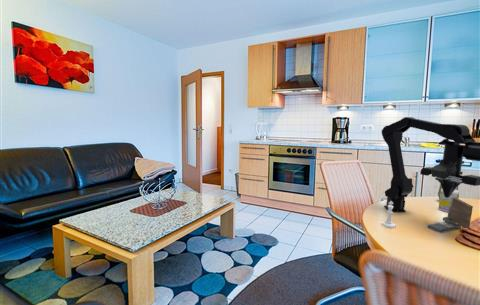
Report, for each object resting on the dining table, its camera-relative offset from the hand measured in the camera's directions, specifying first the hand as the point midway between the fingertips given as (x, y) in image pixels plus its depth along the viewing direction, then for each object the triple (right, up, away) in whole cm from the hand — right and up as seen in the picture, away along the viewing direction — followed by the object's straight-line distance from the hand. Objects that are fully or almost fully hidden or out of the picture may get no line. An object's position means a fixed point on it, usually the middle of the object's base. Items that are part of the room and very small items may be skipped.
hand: (446, 197), depth 97 cm
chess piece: (-22, -12, +1) cm, 25 cm away
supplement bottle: (+17, -10, +20) cm, 28 cm away
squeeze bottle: (+26, -9, +32) cm, 42 cm away
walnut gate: (+6, -10, +2) cm, 12 cm away
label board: (+1, -12, +3) cm, 12 cm away
